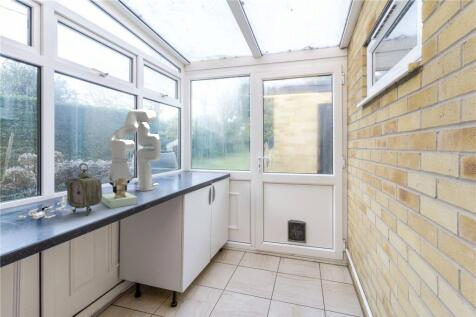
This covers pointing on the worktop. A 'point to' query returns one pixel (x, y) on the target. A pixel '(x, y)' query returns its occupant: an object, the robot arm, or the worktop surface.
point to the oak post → (120, 188)
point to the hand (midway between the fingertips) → (120, 192)
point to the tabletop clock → (84, 191)
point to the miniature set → (42, 214)
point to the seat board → (118, 200)
